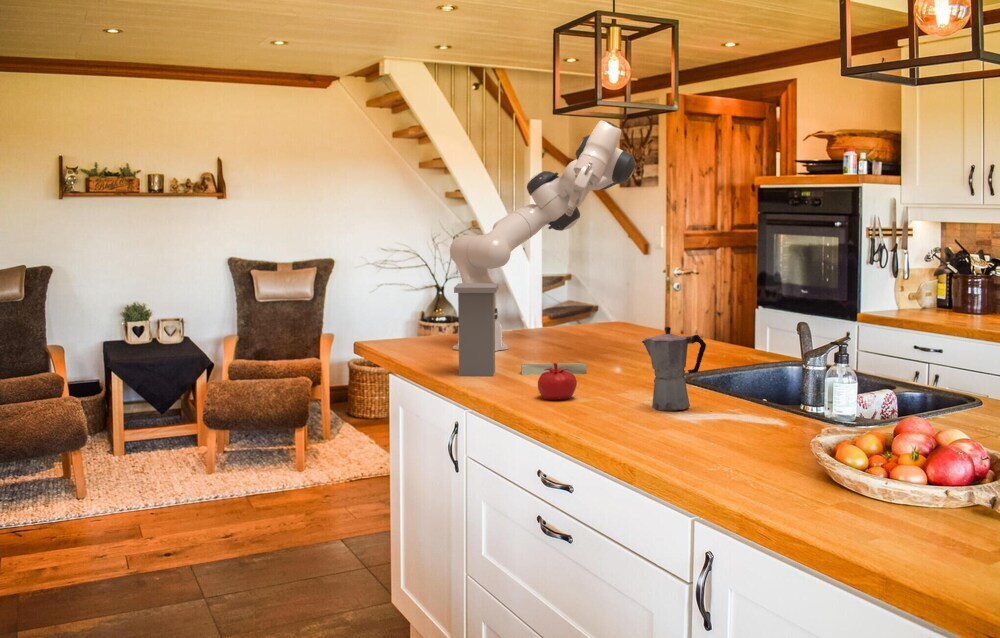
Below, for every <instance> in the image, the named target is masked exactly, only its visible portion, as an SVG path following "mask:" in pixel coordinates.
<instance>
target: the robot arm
mask: <svg viewBox="0 0 1000 638" xmlns="http://www.w3.org/2000/svg"><path fill="white" fill-rule="evenodd" d="M621 134H622V130H621V128H620V127H619V126H618V125H617V124H614V123H613V122H610V121H608V120H605V119H603V120H602V119H601V120H599V121H598V122H597V124H596V125H595V126H594V128H593V130H592V132H591V133H590V134H588V135H586V136H583V137H582V139H581V143H580V145H579V147H578V149H577V150H576V151H575V157H576V159H574V160H572V161H571V162H569V163H568V164H567V166H566V167H565V169H564V170H563V172H562V174H561V176H559V172H552V171H547V170H545V171H544V170H543V171H542V172H538V173H536V174H534V175H533V176H532V177H531V178H530V180H529V181H528V183H527V185H526V190H527V192H528V194H529V196H531V199H532V200H533V201H534V203H535V204H534V203H531V204H527V205H525V206H522V207H519V208H518V209H515V210H514V211H511V212H510V213H509V214H507V215H505V216H504V217H502V218H501V219H499V220H497V221H496V222H495V223H494V224H493V225H492V230H491V231H490V232H488V233H485V234H481V235H480V234H479V235H478V234H466V235H461V236H459V237H456V238H455V239H453V241H452V242H451V244H450V247H449V255H450V258H451V260H452V261H453V262H454V263H455V264H456V266H457V269H458V271H459V274H460V278H461V283H495V282H494V281H493V280H492V278H491V277H490V274H489V271H488V269H489V270H493V269H497V268H500V267H501V268H502V267H504V266H505V265H507V264H508V262H509V260H510V258H511V252H512V251H514V250H515V249H516V248H518V247H519V246H520V245H522V244H523V243H525V242H526V241H528V240H530V239H531V238H533V236H535V235H536V234H537V233H538V232H540V231H541V230H542V229H543V228H544V227H545V226H547V225H549V226H548V227H547V229H548V230H551V229H553V230H555V231H560V232H562V231H565V230H569V229H571V228H572V227H574V226H575V225H576V224H577V222H578V221H579V219H580V218H581V211H580V210H579V207H581V206H582V204H583V202H584V201H585V199H586V198H587V196H588V194H589V193H590V191H605V190H608V189H610V188H611V187H613V186H616V185H620V184H625V183H626V182H627V181H628V180H629V179H630V178H631V176H632V175H633V173H634V172H635V168H636V165H637V164H636V159H635V157H634V155H633V153H631V152H629V151H626V150H623V149H621V148H619V147H618V144H619V142H620V138H621ZM498 314H499V312H498V308H497V292H496V293H495V352H498V351H504V350H508V349H509V347H508V345H507V344H506V343H505V342H504V341H503V338H504V336H503V330H502V329H503V328H502V324H501V322H499V321H498V318H499V317H498ZM457 327H458V329H457V331H458V332H457V343H456V344H454V345H453V346H452V350H456V351H457V350H458V351H459V325H458V326H457Z"/></svg>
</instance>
